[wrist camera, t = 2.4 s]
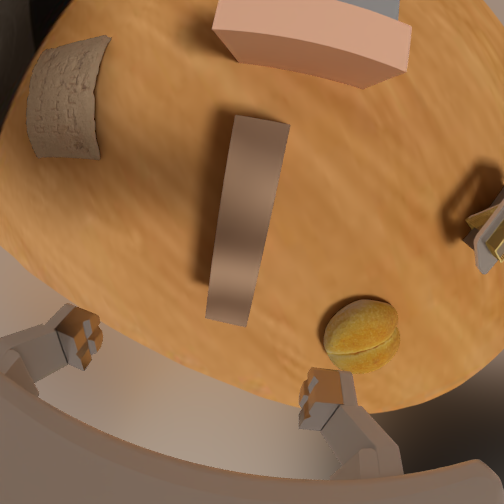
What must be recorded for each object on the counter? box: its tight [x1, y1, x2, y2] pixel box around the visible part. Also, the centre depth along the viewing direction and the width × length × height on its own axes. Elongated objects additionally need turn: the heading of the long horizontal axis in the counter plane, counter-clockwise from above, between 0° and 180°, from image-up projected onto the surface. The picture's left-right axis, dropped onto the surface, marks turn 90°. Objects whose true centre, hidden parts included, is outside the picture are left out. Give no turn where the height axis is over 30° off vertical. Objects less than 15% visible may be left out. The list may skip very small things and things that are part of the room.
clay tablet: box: [26, 35, 111, 160], centre depth 20 cm, size 14×10×3 cm
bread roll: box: [324, 299, 400, 374], centre depth 27 cm, size 8×9×4 cm
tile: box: [212, 0, 412, 89], centre depth 14 cm, size 3×10×9 cm, turn 80°
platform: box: [463, 187, 504, 274], centre depth 18 cm, size 12×18×7 cm, turn 144°
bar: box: [205, 115, 290, 327], centre depth 22 cm, size 16×4×5 cm, turn 170°
